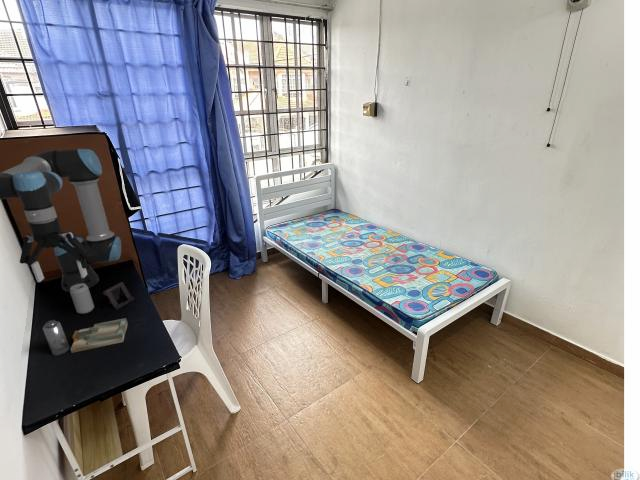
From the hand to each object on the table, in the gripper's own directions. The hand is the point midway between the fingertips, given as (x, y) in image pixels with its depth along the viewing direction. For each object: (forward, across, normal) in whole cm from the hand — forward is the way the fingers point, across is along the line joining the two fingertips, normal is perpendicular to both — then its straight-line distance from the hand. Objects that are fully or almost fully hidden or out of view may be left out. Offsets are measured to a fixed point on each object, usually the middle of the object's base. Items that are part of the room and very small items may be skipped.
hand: (63, 278), depth 115 cm
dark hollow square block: (+27, +4, +25) cm, 37 cm away
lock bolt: (+25, 0, 0) cm, 25 cm away
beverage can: (+27, -8, +22) cm, 36 cm away
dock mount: (+27, +5, +1) cm, 27 cm away
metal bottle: (+27, -6, -4) cm, 28 cm away
